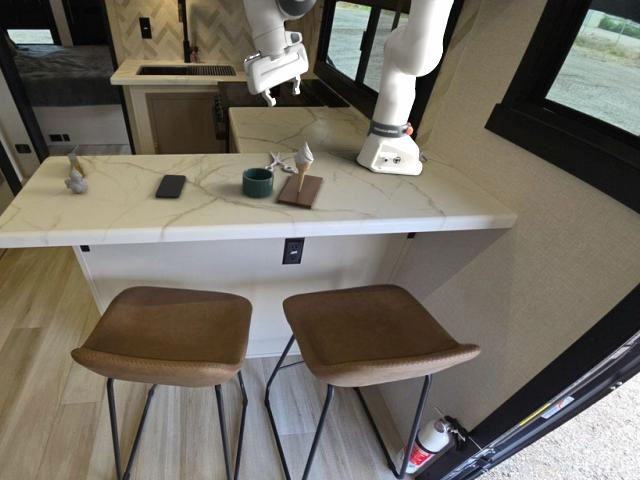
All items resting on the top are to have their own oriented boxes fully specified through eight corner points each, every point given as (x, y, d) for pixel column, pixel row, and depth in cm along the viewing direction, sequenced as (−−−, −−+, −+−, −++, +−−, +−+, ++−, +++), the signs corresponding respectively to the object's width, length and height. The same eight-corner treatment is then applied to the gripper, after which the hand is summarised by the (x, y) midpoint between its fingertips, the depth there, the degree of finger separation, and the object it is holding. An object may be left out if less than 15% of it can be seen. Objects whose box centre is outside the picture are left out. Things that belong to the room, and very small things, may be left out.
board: (322, 180, 112) (323, 177, 112) (310, 209, 99) (311, 205, 98) (293, 176, 115) (293, 172, 114) (277, 203, 101) (278, 199, 100)
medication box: (71, 165, 118) (66, 153, 115) (79, 163, 118) (74, 151, 116) (76, 178, 110) (71, 166, 107) (85, 175, 111) (80, 163, 108)
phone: (186, 175, 112) (178, 196, 101) (186, 177, 112) (179, 199, 101) (164, 174, 112) (154, 195, 101) (164, 176, 112) (154, 198, 101)
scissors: (265, 171, 115) (260, 149, 129) (265, 174, 115) (260, 151, 129) (296, 171, 115) (288, 149, 129) (296, 174, 116) (288, 151, 130)
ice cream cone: (286, 189, 105) (292, 139, 94) (302, 186, 106) (309, 136, 96) (295, 197, 101) (302, 145, 91) (311, 194, 103) (320, 143, 92)
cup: (275, 187, 108) (277, 170, 105) (267, 200, 102) (268, 183, 98) (247, 182, 111) (248, 165, 107) (237, 195, 104) (238, 177, 100)
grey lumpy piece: (87, 196, 102) (78, 170, 96) (65, 196, 102) (55, 170, 96) (92, 187, 106) (84, 162, 100) (70, 187, 106) (61, 162, 100)
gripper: (247, 55, 88) (263, 111, 95) (305, 31, 94) (316, 86, 101) (235, 61, 93) (251, 114, 101) (291, 38, 99) (303, 90, 106)
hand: (284, 100), depth 101 cm, fingers open, 8 cm apart
